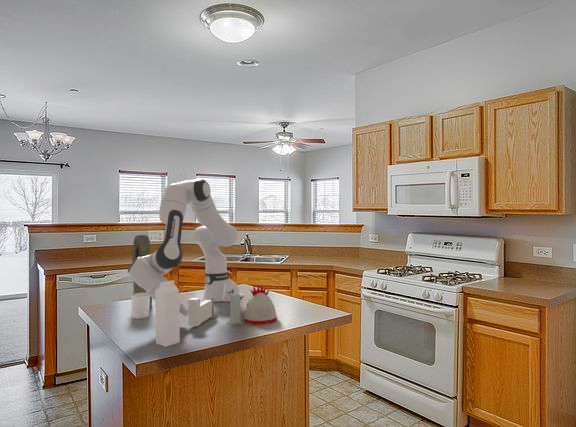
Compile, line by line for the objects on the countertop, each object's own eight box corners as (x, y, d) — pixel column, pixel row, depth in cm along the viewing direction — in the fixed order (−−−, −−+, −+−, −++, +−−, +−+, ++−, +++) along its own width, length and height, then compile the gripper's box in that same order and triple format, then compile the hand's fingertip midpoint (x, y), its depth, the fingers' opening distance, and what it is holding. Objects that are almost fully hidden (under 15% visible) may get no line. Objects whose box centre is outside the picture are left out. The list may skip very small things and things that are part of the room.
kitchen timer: (240, 317, 178) (240, 283, 178) (270, 314, 183) (270, 281, 183) (248, 326, 165) (248, 289, 165) (280, 322, 170) (280, 286, 170)
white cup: (130, 319, 176) (130, 296, 176) (132, 315, 183) (132, 293, 183) (149, 318, 178) (149, 295, 178) (150, 314, 186) (150, 292, 185)
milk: (179, 342, 145) (179, 281, 145) (165, 347, 140) (164, 283, 140) (169, 339, 149) (169, 279, 149) (155, 343, 144) (154, 281, 144)
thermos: (127, 310, 193) (126, 236, 192) (140, 304, 204) (139, 234, 204) (144, 310, 191) (143, 236, 191) (156, 305, 203) (156, 234, 202)
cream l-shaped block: (205, 315, 178) (204, 291, 178) (212, 316, 177) (212, 292, 177) (188, 325, 162) (188, 299, 162) (196, 326, 162) (196, 299, 162)
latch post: (227, 323, 169) (226, 294, 169) (237, 321, 172) (237, 293, 172) (232, 326, 165) (232, 296, 165) (243, 324, 168) (243, 295, 168)
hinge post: (211, 314, 184) (211, 296, 184) (220, 316, 180) (220, 298, 180) (201, 317, 179) (200, 299, 179) (210, 319, 175) (209, 301, 175)
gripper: (165, 290, 152) (191, 314, 154) (170, 280, 172) (193, 302, 174) (152, 302, 151) (179, 327, 153) (159, 291, 172) (183, 313, 174)
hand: (187, 314), depth 164 cm, fingers closed
